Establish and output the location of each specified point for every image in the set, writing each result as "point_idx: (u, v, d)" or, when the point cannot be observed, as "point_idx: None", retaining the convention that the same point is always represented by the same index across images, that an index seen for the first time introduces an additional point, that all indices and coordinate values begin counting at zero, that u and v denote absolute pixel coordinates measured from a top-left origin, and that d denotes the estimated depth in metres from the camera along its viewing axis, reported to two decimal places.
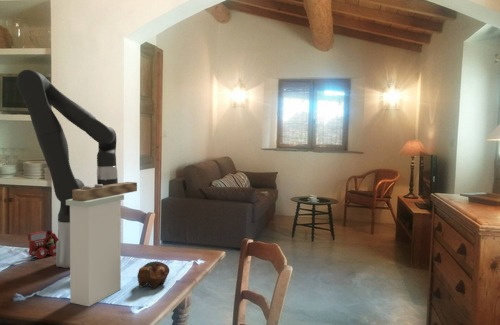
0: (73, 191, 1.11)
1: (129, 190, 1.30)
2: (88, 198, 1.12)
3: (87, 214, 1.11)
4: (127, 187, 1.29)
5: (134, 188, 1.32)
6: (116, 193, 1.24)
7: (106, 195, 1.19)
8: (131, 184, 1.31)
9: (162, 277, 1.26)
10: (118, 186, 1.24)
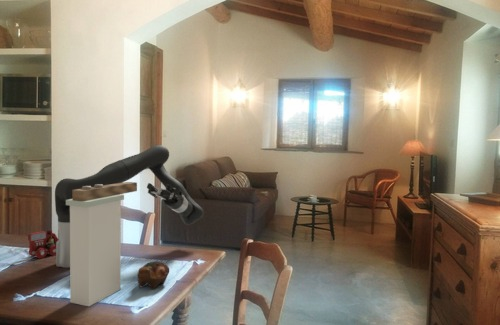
0: (73, 191, 1.11)
1: (129, 190, 1.30)
2: (88, 198, 1.12)
3: (87, 214, 1.11)
4: (127, 187, 1.29)
5: (134, 188, 1.32)
6: (116, 193, 1.24)
7: (106, 195, 1.19)
8: (131, 184, 1.31)
9: (162, 277, 1.26)
10: (118, 186, 1.24)
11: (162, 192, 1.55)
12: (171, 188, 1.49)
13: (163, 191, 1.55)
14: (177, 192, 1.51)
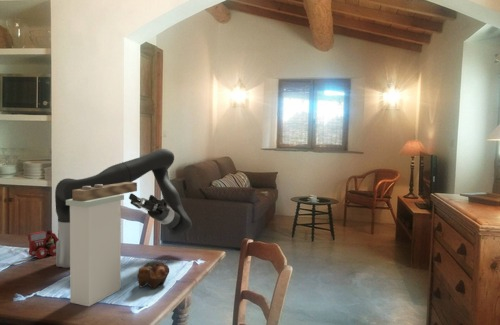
0: (73, 191, 1.11)
1: (129, 190, 1.30)
2: (88, 198, 1.12)
3: (87, 214, 1.11)
4: (127, 187, 1.29)
5: (134, 188, 1.32)
6: (116, 193, 1.24)
7: (106, 195, 1.19)
8: (131, 184, 1.31)
9: (162, 277, 1.26)
10: (118, 186, 1.24)
11: (146, 203, 1.44)
12: (155, 199, 1.39)
13: (147, 202, 1.45)
14: (161, 203, 1.40)
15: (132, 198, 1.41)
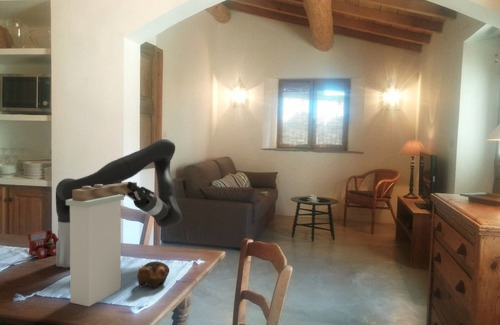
0: (73, 191, 1.11)
1: (129, 190, 1.30)
2: (88, 198, 1.12)
3: (87, 214, 1.11)
4: None
5: None
6: (116, 193, 1.24)
7: (106, 195, 1.19)
8: None
9: (162, 277, 1.26)
10: (118, 186, 1.24)
11: (134, 192, 1.36)
12: (133, 186, 1.30)
13: None
14: (140, 190, 1.32)
15: None
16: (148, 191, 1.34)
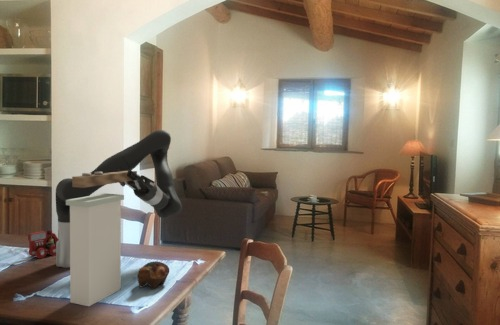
0: (73, 178, 1.11)
1: (129, 178, 1.30)
2: (88, 185, 1.12)
3: (87, 214, 1.11)
4: None
5: None
6: (116, 181, 1.23)
7: (106, 182, 1.19)
8: None
9: (162, 277, 1.26)
10: (118, 174, 1.24)
11: (134, 181, 1.35)
12: (133, 174, 1.30)
13: None
14: (140, 179, 1.31)
15: None
16: (148, 180, 1.33)
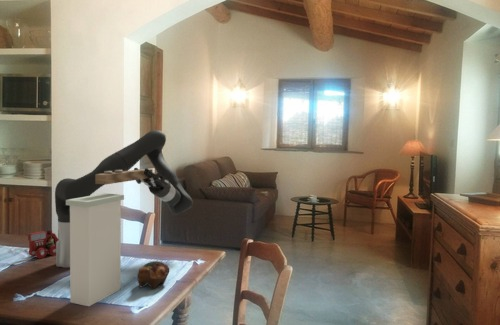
0: (96, 175, 1.20)
1: (145, 176, 1.38)
2: (110, 182, 1.21)
3: (87, 214, 1.11)
4: None
5: None
6: (134, 178, 1.32)
7: (125, 180, 1.28)
8: None
9: (162, 277, 1.26)
10: (136, 172, 1.33)
11: (149, 179, 1.44)
12: (150, 172, 1.39)
13: None
14: (156, 177, 1.40)
15: None
16: (163, 177, 1.42)
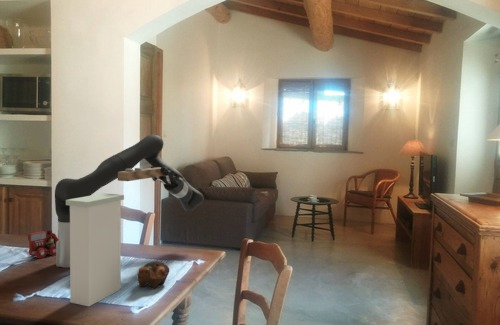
0: (118, 173, 1.30)
1: (162, 174, 1.48)
2: (131, 179, 1.31)
3: (87, 214, 1.11)
4: None
5: None
6: (152, 176, 1.42)
7: (144, 177, 1.38)
8: None
9: (162, 277, 1.26)
10: (153, 170, 1.43)
11: (165, 177, 1.54)
12: (165, 170, 1.48)
13: (166, 176, 1.54)
14: (171, 174, 1.50)
15: None
16: (178, 175, 1.52)
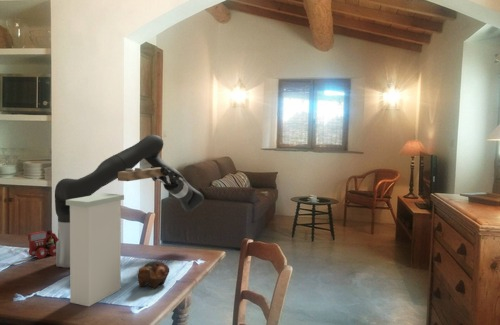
0: (118, 173, 1.30)
1: (162, 174, 1.48)
2: (131, 179, 1.31)
3: (87, 214, 1.11)
4: (160, 171, 1.47)
5: None
6: (152, 176, 1.42)
7: (144, 177, 1.38)
8: None
9: (162, 277, 1.26)
10: (153, 170, 1.43)
11: (165, 177, 1.54)
12: (166, 170, 1.48)
13: (166, 176, 1.54)
14: (171, 174, 1.50)
15: None
16: (178, 175, 1.52)
